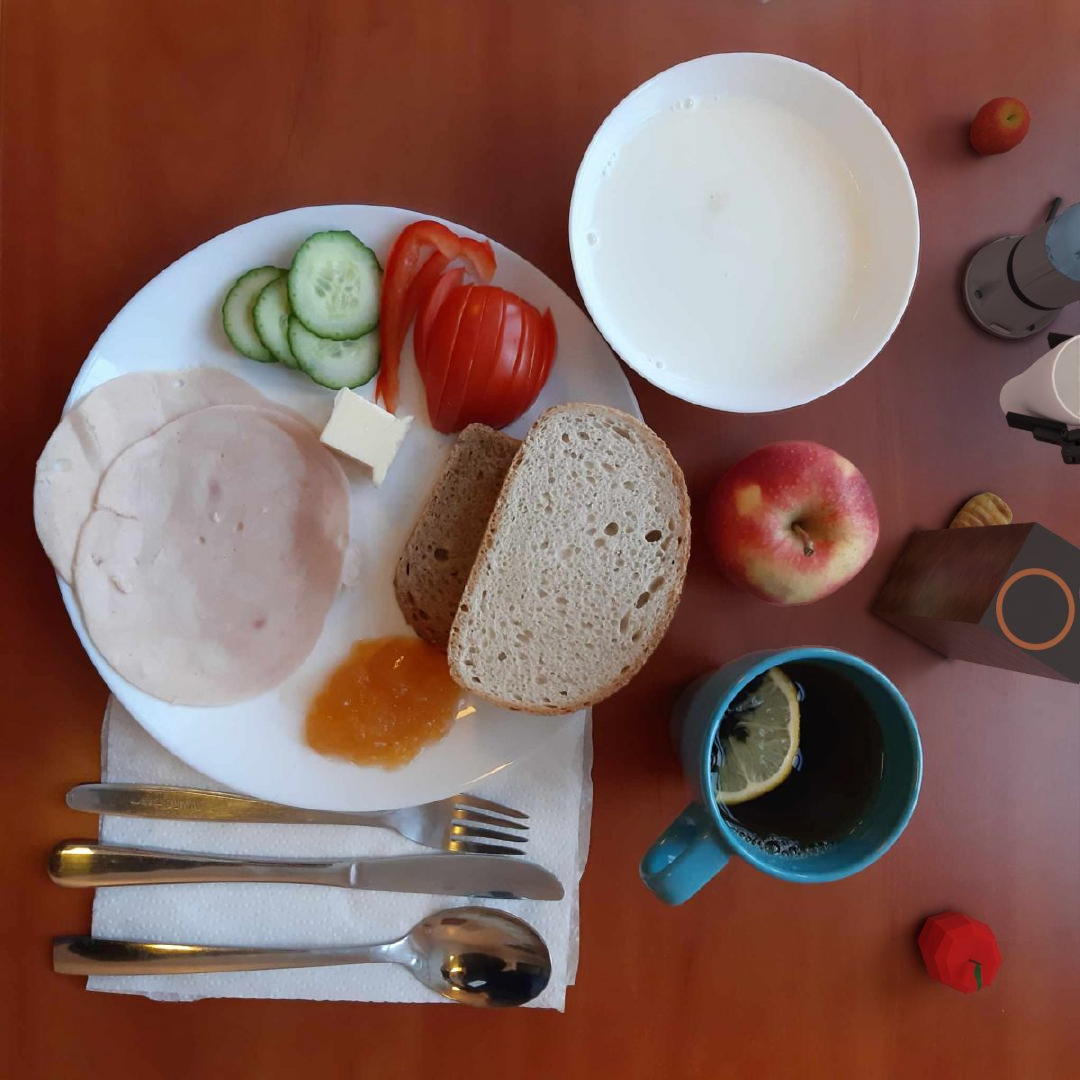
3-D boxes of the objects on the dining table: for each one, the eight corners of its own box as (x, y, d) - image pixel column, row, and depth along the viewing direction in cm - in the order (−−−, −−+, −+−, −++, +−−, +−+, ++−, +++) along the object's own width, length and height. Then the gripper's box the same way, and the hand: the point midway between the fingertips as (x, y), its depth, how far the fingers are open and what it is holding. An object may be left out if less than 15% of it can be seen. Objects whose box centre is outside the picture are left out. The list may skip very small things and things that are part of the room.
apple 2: (1016, 133, 131) (1050, 106, 124) (991, 175, 131) (1022, 150, 123) (975, 105, 131) (1006, 76, 123) (949, 147, 131) (978, 120, 123)
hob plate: (1035, 521, 101) (1036, 521, 100) (1133, 582, 101) (1135, 582, 101) (978, 623, 100) (979, 624, 100) (1077, 684, 101) (1079, 684, 100)
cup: (1034, 456, 109) (1111, 441, 96) (967, 412, 109) (1034, 391, 95) (1075, 387, 110) (1157, 363, 96) (1008, 343, 109) (1081, 313, 96)
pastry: (962, 560, 129) (977, 560, 125) (935, 526, 129) (948, 524, 125) (1008, 522, 130) (1024, 520, 126) (981, 487, 130) (995, 485, 126)
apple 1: (910, 899, 127) (947, 928, 117) (979, 903, 128) (1021, 932, 118) (905, 971, 127) (941, 1006, 117) (974, 975, 127) (1016, 1010, 117)
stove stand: (917, 529, 129) (1036, 519, 101) (994, 576, 129) (1134, 580, 101) (870, 610, 128) (978, 623, 100) (948, 658, 128) (1077, 684, 101)
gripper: (1203, 531, 91) (992, 474, 106) (1297, 346, 92) (1075, 315, 107) (1203, 504, 85) (980, 448, 100) (1303, 307, 87) (1067, 281, 102)
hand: (1029, 379), depth 104 cm, fingers closed on cup, 10 cm apart
